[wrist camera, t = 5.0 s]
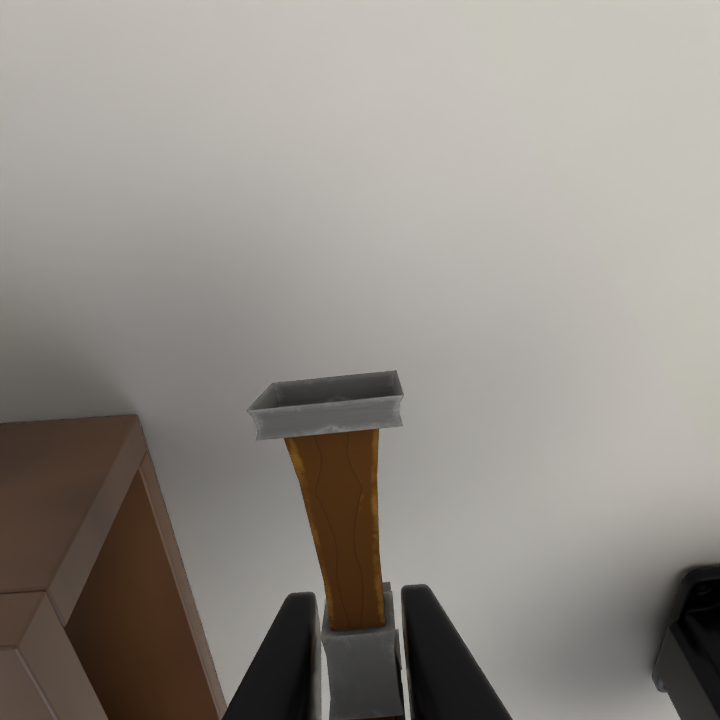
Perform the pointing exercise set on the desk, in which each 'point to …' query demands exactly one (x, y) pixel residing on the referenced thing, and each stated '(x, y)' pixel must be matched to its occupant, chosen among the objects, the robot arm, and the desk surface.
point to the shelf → (94, 581)
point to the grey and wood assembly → (345, 526)
